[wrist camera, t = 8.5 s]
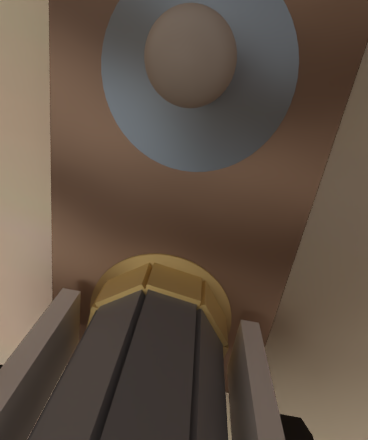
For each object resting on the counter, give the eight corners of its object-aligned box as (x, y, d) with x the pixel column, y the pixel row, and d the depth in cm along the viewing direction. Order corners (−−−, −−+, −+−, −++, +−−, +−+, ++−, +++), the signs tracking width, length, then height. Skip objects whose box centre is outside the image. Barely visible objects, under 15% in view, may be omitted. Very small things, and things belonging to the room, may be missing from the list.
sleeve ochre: (186, 246, 12) (162, 414, 6) (241, 346, 14) (271, 562, 7) (75, 294, 14) (-49, 474, 7) (137, 379, 15) (84, 588, 9)
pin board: (69, -80, 10) (-171, -389, 4) (372, -31, 10) (664, -262, 4) (66, 339, 17) (-20, 484, 10) (245, 371, 17) (267, 537, 10)
